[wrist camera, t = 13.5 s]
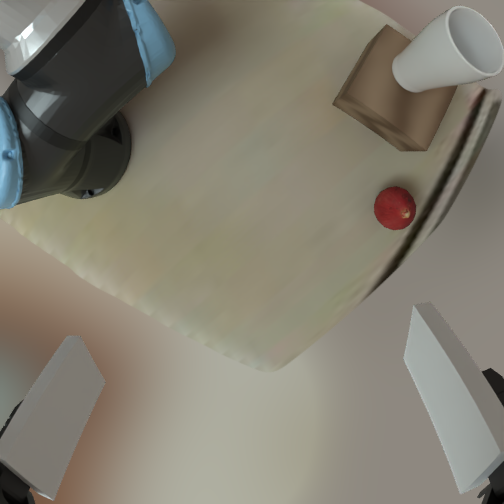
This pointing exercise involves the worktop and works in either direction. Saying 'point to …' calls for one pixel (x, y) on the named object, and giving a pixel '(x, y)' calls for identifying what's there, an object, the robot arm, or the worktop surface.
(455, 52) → the white tumbler
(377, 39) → the walnut stand
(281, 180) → the worktop surface
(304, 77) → the worktop surface
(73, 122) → the robot arm
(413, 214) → the onion
